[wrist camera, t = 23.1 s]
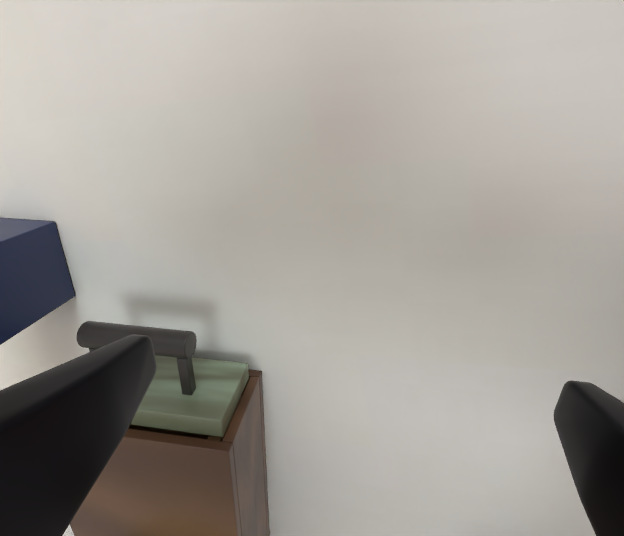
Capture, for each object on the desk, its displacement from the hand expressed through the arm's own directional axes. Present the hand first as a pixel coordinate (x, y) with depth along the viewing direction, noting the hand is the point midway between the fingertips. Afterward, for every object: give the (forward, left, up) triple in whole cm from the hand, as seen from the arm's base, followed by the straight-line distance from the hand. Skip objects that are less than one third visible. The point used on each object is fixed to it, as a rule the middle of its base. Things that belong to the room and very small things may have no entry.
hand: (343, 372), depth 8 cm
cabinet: (+1, +23, -12) cm, 26 cm away
